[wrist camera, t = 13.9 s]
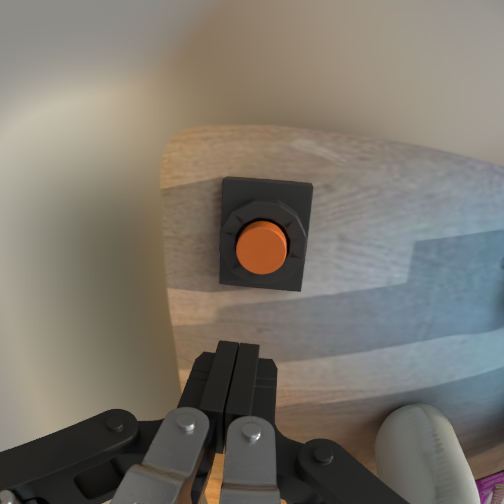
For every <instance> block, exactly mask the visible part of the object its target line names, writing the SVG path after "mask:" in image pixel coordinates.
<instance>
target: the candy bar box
mask: <svg viewBox="0 0 504 504" xmlns="http://www.w3.org/2000/svg"><path fill="white" fill-rule="evenodd" d="M475 483H476V486H477V489H478V493H479V497H480V504H504V471H501V472H499V473H496V474H493V475H491V476H488V477H485V478H482V479H480V480H477V481H475Z"/></svg>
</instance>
